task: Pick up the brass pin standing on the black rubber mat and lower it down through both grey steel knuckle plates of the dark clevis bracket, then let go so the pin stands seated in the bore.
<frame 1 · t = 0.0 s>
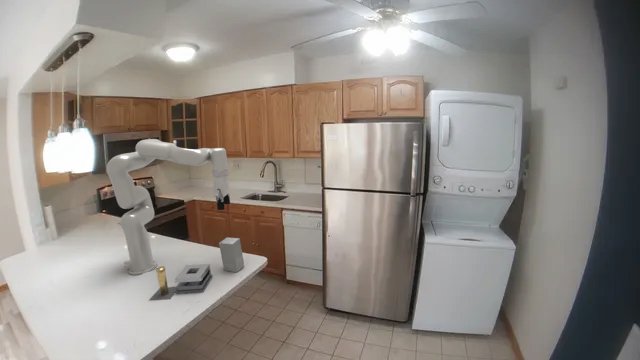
hand: (224, 206, 135), 31 cm above the counter, tool pointing down, fingers open, 9 cm apart
clevis: (195, 285, 123), on the counter
mat: (165, 294, 118), on the counter
skincare box: (233, 269, 136), on the counter
pin: (164, 293, 117), resting on mat
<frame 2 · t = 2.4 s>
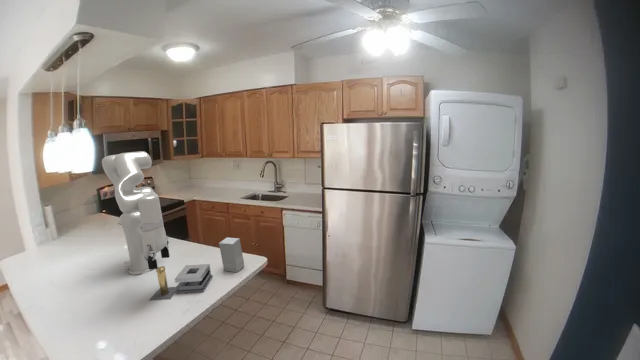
hand: (159, 262, 114), 15 cm above the counter, tool pointing down, fingers open, 9 cm apart
nothing on the counter moved.
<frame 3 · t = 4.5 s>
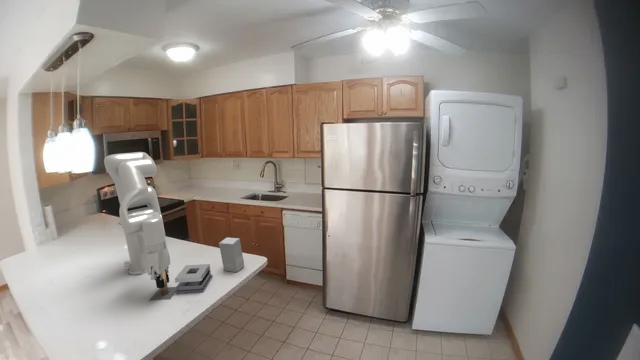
hand: (163, 284, 117), 5 cm above the counter, tool pointing down, fingers closed on pin, 3 cm apart
pin: (164, 293, 117), resting on mat, touching gripper
everything else where it was.
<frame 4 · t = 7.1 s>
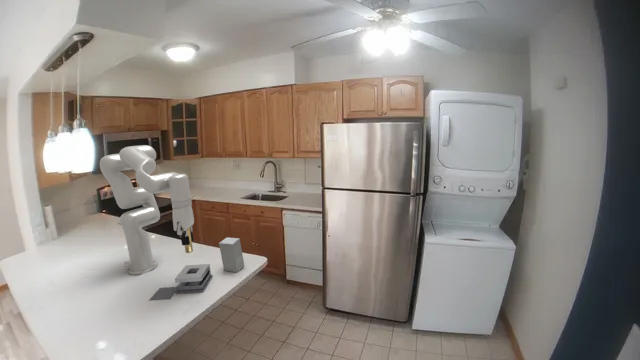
hand: (187, 242, 118), 21 cm above the counter, tool pointing down, fingers closed on pin, 3 cm apart
pin: (189, 251, 119), point 17 cm above the counter, touching gripper
everything else where it was.
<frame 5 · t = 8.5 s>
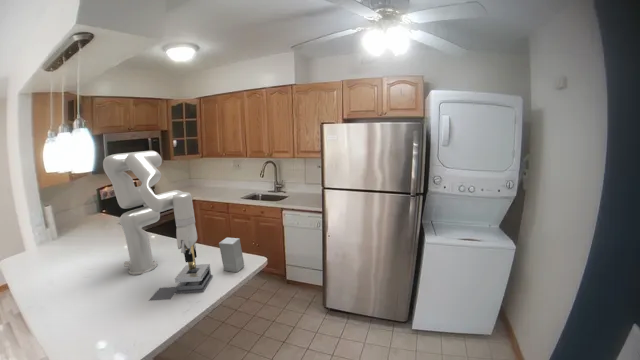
hand: (191, 259, 120), 13 cm above the counter, tool pointing down, fingers closed on pin, 3 cm apart
pin: (192, 268, 121), point 9 cm above the counter, touching gripper
everything else where it was.
when the fingers open (9 cm above the counter, at t = 9.6 s): pin drops 3 cm, resting on clevis.
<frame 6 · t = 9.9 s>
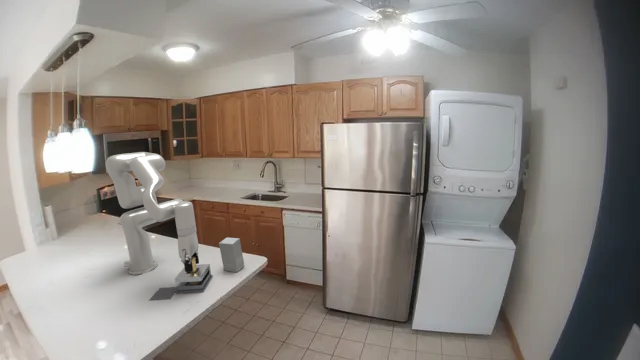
hand: (192, 267, 121), 9 cm above the counter, tool pointing down, fingers open, 6 cm apart
pin: (194, 282, 123), point 2 cm above the counter, touching clevis
everything else where it was.
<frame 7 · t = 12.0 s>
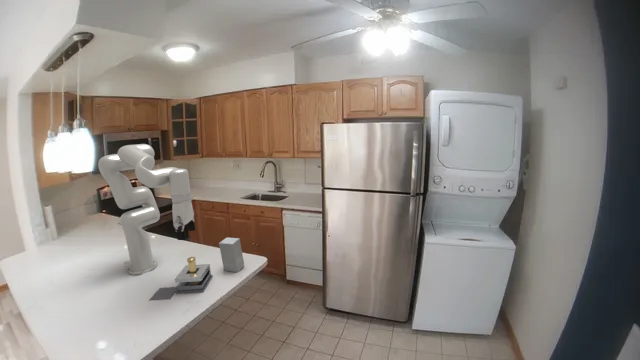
hand: (186, 234, 119), 24 cm above the counter, tool pointing down, fingers open, 9 cm apart
nothing on the counter moved.
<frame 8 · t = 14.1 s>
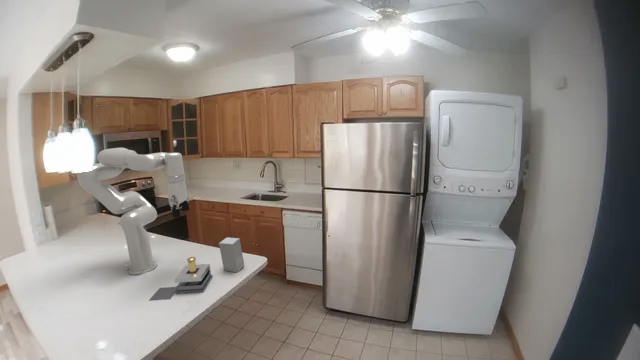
hand: (181, 213, 130), 30 cm above the counter, tool pointing down, fingers open, 9 cm apart
nothing on the counter moved.
at the end: pin 0.1 cm off-centre on the clevis, point 1.5 cm above the clevis's base; pin tilted 0°; the gripper is holding nothing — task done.
